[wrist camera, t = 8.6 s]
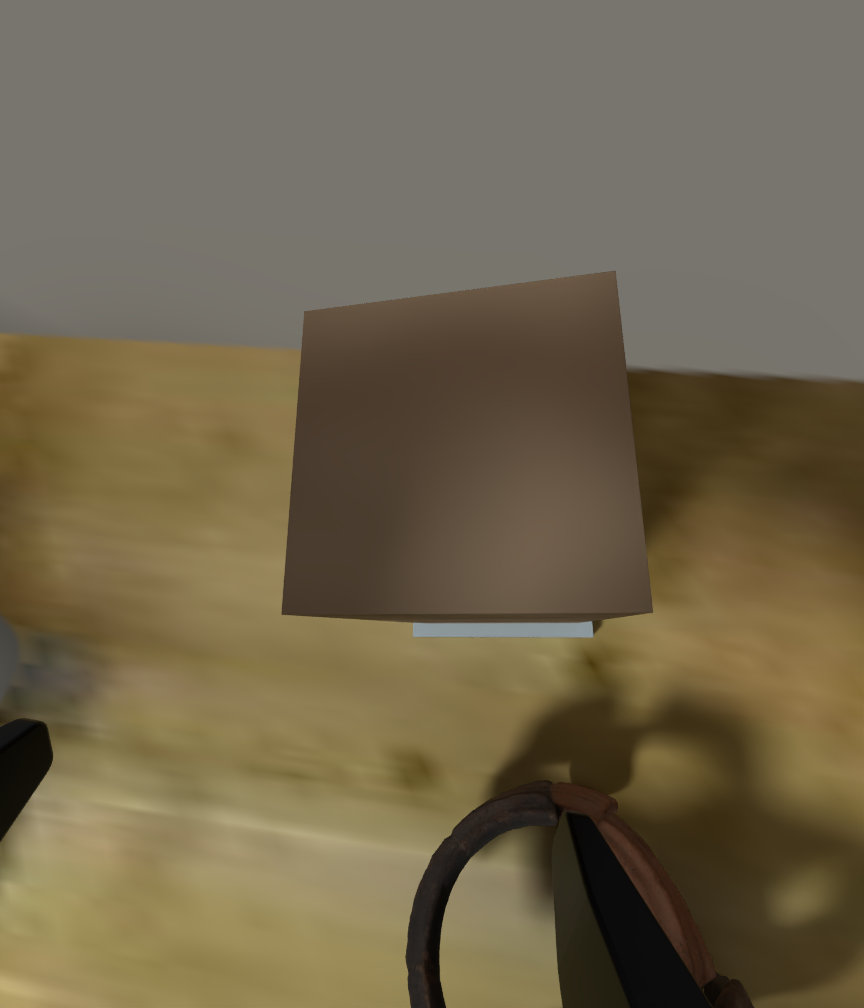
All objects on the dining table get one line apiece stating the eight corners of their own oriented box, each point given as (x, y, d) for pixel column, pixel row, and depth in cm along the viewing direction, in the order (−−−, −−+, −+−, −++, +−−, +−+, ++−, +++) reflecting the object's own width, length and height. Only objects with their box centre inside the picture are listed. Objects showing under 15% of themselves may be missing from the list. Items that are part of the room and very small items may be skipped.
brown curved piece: (438, 1090, 17) (319, 1136, 11) (494, 790, 23) (433, 726, 17) (893, 1352, 12) (1080, 1673, 6) (817, 873, 17) (878, 817, 12)
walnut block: (578, 623, 19) (653, 612, 7) (425, 623, 20) (281, 614, 8) (567, 473, 20) (615, 270, 9) (425, 482, 21) (304, 311, 10)
